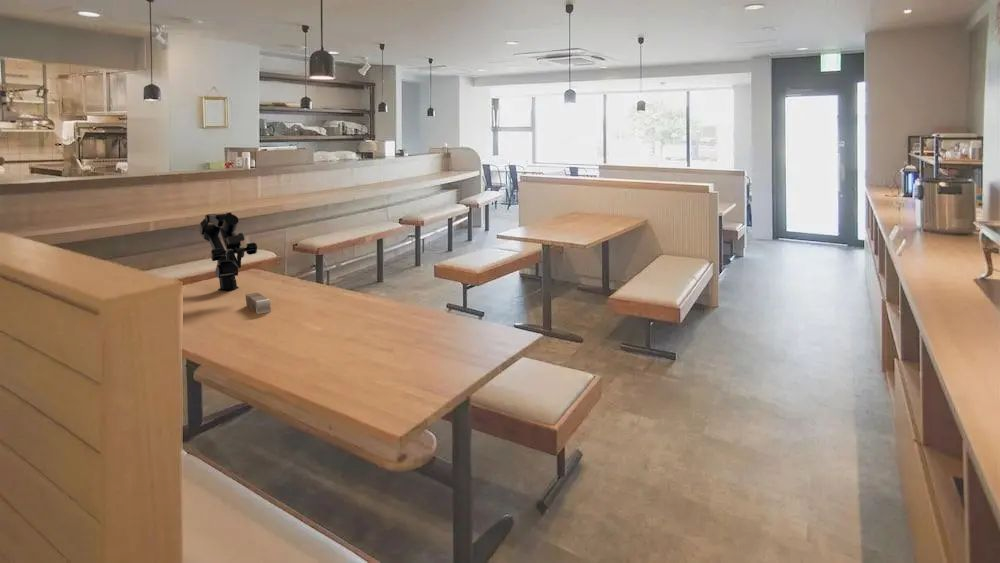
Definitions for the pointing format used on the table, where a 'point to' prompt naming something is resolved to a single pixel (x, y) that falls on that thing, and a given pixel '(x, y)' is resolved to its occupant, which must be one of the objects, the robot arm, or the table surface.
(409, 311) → the table surface
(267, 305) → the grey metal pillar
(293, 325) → the table surface
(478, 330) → the table surface
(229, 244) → the robot arm
